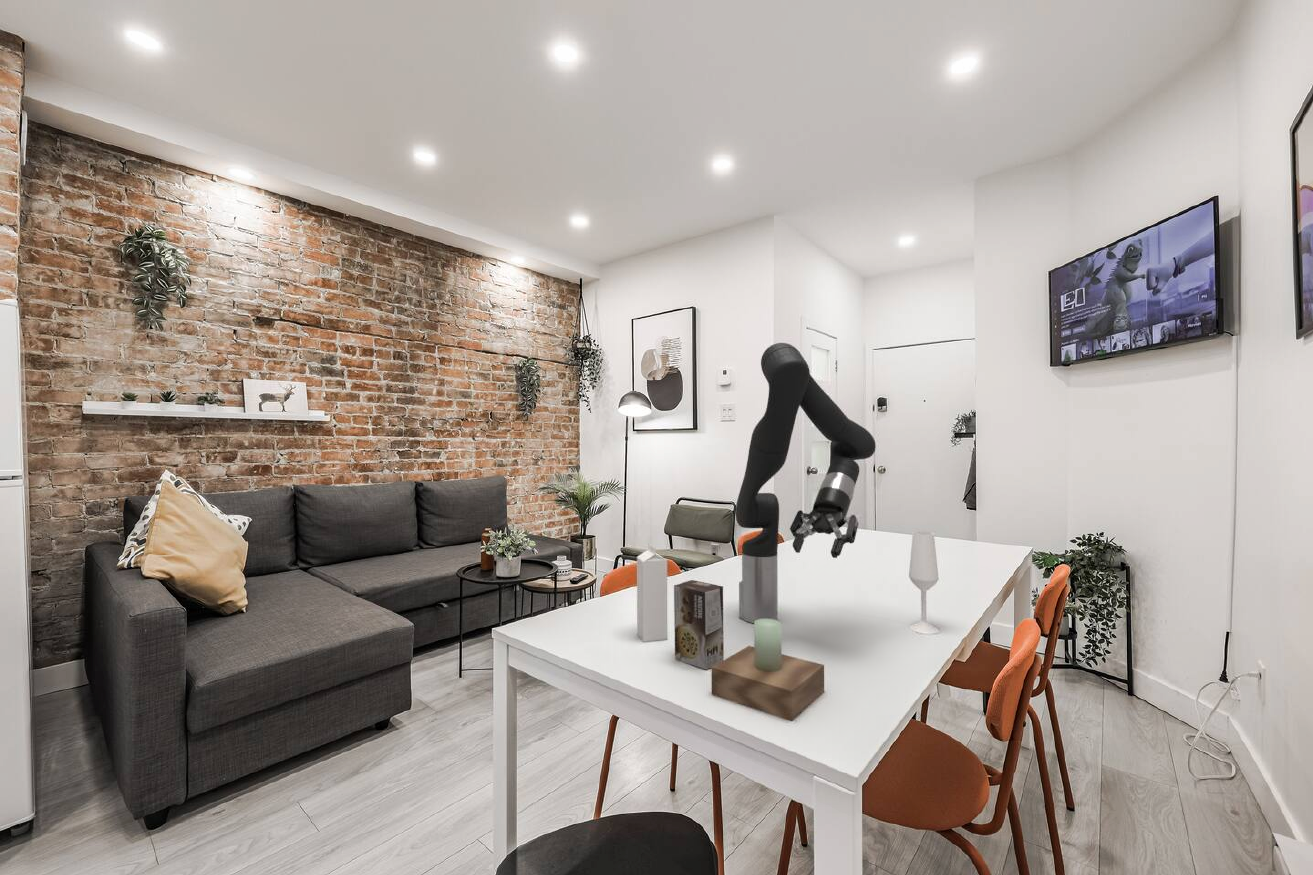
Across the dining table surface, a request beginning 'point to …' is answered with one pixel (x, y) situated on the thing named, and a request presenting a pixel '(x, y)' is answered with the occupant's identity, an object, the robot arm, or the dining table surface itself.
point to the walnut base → (768, 684)
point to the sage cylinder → (767, 644)
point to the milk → (651, 596)
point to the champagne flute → (923, 573)
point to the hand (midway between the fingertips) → (814, 553)
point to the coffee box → (698, 623)
